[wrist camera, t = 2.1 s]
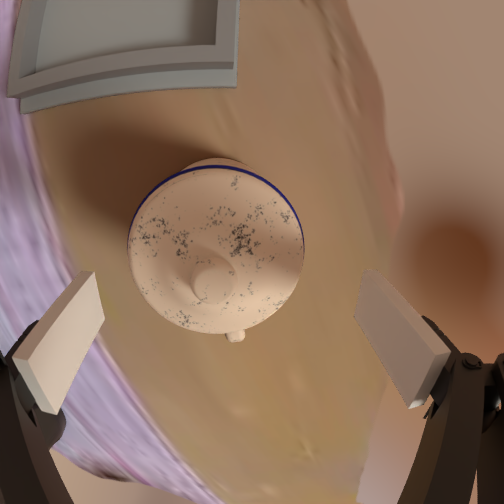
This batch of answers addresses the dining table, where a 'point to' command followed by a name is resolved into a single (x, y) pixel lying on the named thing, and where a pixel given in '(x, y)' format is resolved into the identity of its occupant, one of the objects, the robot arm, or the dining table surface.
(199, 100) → the dining table surface
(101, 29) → the grey shallow square tray
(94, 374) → the dining table surface
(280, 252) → the teacup with lid
